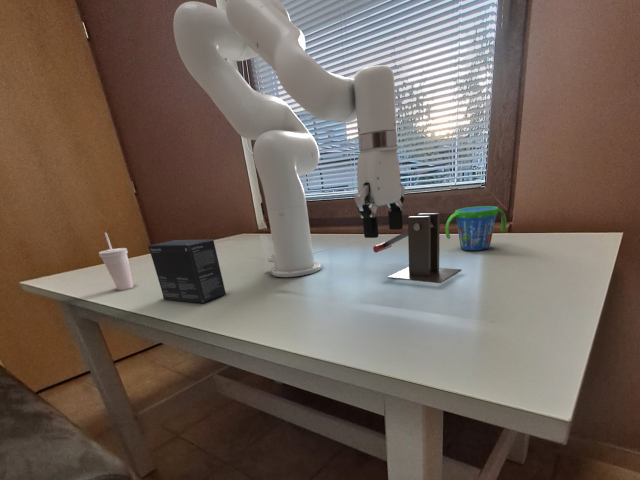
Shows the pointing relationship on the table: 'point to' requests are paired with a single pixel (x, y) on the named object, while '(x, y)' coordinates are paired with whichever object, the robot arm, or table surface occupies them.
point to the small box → (188, 270)
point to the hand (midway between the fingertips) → (384, 233)
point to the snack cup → (476, 226)
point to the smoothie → (117, 266)
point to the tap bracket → (424, 251)
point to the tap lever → (393, 240)
